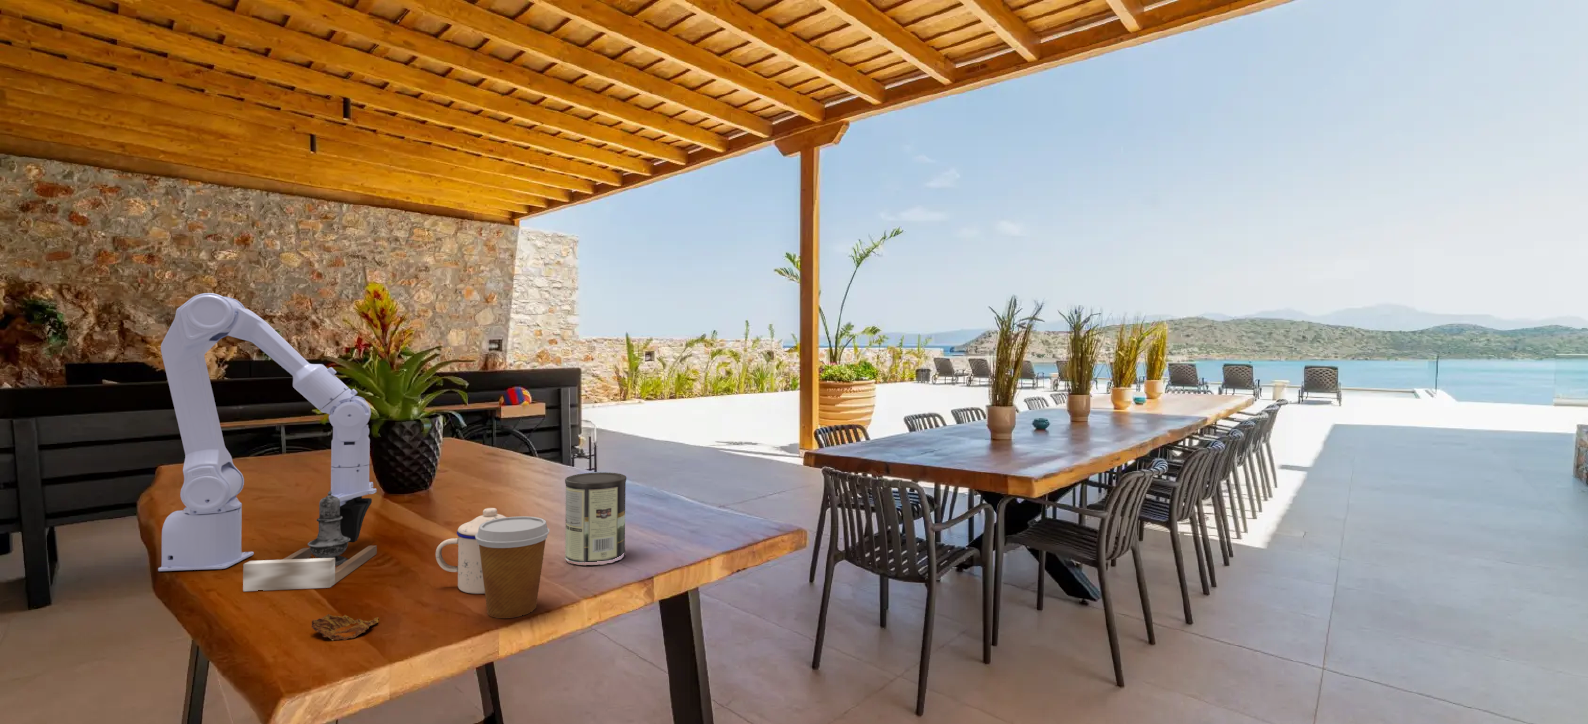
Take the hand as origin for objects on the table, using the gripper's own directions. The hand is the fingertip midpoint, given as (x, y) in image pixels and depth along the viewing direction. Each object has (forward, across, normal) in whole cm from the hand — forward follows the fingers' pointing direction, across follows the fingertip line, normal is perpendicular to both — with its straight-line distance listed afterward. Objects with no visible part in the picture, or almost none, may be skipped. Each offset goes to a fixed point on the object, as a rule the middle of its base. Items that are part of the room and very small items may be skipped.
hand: (349, 541), depth 120 cm
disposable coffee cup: (+2, -34, -34) cm, 48 cm away
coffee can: (+2, -11, -43) cm, 44 cm away
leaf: (+2, -38, -15) cm, 41 cm away
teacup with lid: (+2, -23, -27) cm, 35 cm away
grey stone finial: (+2, -8, 0) cm, 8 cm away
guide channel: (+1, -12, 0) cm, 12 cm away
